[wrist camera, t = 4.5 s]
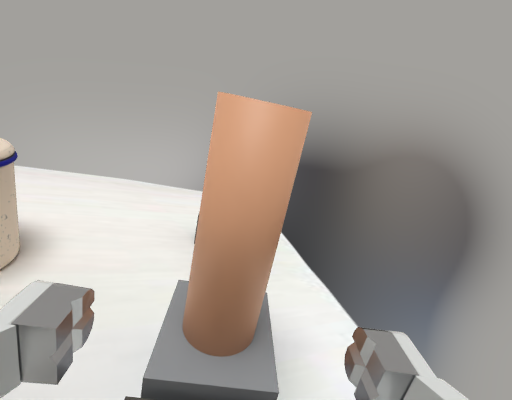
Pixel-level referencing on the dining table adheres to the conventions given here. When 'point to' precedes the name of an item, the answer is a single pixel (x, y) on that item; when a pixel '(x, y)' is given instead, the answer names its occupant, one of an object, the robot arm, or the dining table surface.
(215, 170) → the slider with handle
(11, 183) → the teacup with lid
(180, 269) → the dining table surface
